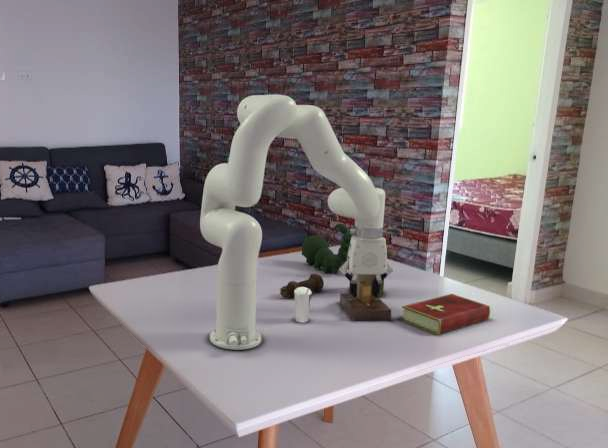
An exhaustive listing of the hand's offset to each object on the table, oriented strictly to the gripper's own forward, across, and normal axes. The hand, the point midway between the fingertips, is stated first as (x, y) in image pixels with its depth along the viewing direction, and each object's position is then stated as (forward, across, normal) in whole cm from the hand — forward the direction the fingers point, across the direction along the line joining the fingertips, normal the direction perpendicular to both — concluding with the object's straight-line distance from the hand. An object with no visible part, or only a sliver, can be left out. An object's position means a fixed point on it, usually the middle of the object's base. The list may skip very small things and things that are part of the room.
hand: (363, 295), depth 158 cm
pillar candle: (+5, +6, +15) cm, 17 cm away
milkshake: (+5, -19, -8) cm, 21 cm away
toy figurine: (+5, -1, +41) cm, 41 cm away
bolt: (+5, -15, +14) cm, 21 cm away
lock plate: (+4, 0, -1) cm, 5 cm away
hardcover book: (+5, +20, -8) cm, 22 cm away
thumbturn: (+1, 0, 0) cm, 1 cm away
